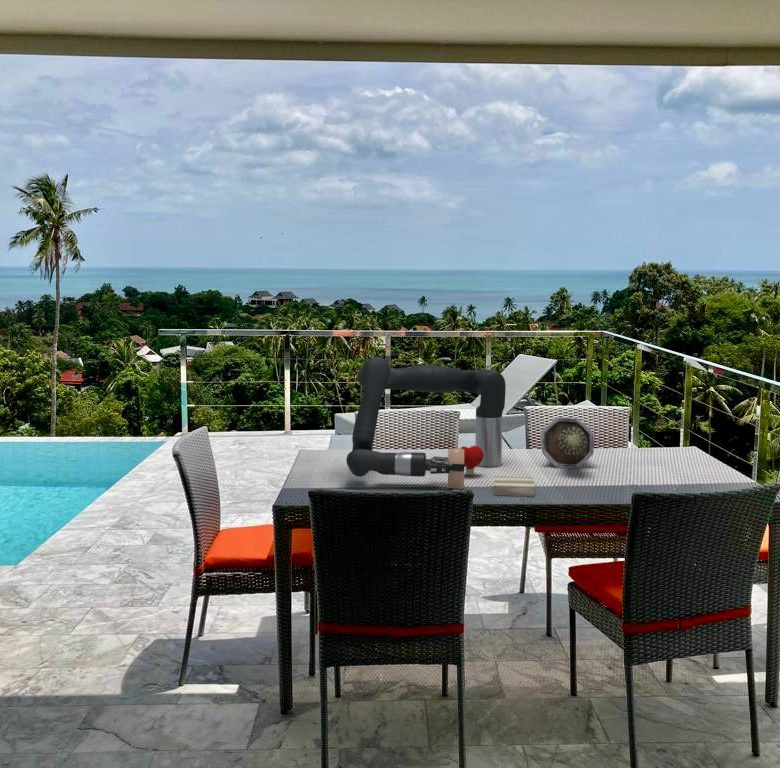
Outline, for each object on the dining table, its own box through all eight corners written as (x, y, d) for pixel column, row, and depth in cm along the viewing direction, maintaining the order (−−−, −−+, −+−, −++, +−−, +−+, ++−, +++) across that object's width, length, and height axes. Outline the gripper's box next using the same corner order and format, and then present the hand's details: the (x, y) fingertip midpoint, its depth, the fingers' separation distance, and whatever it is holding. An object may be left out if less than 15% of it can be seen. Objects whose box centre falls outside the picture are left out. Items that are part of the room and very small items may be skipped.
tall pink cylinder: (448, 485, 268) (448, 448, 266) (464, 485, 267) (464, 448, 266) (447, 489, 263) (447, 451, 261) (463, 489, 262) (464, 451, 261)
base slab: (494, 485, 267) (494, 476, 267) (532, 486, 266) (532, 477, 266) (494, 495, 256) (494, 485, 255) (534, 496, 254) (534, 487, 254)
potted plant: (539, 418, 306) (546, 411, 276) (590, 421, 304) (602, 415, 275) (537, 467, 304) (543, 465, 275) (587, 470, 302) (600, 469, 273)
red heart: (460, 479, 276) (460, 449, 274) (452, 474, 282) (453, 445, 281) (487, 477, 278) (487, 447, 277) (478, 472, 285) (479, 443, 284)
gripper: (408, 457, 258) (464, 458, 256) (412, 447, 272) (465, 449, 270) (408, 481, 259) (463, 483, 257) (412, 470, 273) (465, 472, 271)
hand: (464, 465), depth 264 cm, fingers closed on tall pink cylinder, 5 cm apart
